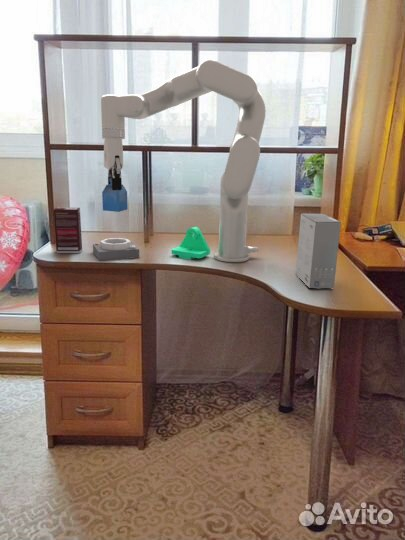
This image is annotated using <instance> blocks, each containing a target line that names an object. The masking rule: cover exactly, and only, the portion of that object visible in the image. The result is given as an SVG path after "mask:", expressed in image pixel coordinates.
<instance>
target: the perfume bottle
mask: <svg viewBox="0 0 405 540" xmlns="http://www.w3.org/2000/svg"><path fill="white" fill-rule="evenodd" d="M112 178H113V176H112V175H110V178H109V181H110V184H109V185H108V184H106V185H105V187H104V189H103V190H102V192H101V194H102V196H101V197H102V198H101V199H102V211H105V212H106V211H107V212H114V213H116V212H117V213H119V212H124V211H127V210H128V191H127V189H126V187H125V185H124V184H123V183H122V190H118V189H117V190H112Z"/></svg>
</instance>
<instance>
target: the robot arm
mask: <svg viewBox="0 0 405 540" xmlns="http://www.w3.org/2000/svg"><path fill="white" fill-rule="evenodd" d="M210 92H214V93H216V94H218V95H220V96H222V97H225V98H227V99H229V100H232V101H233V102H234V103H235V104H236V105H237V106H238V109H239V115H238V119H237V125H236V128H235V132H234V135H233V139H232V141H231V143H230V146H229V154H228V158H227V161H226V165H225V167H224V168H225V169H224V172H223V174H221V178H220V186H219V188H220V194H219V195H220V197H219V199H220V200H219V201H220V202H219V204H220V205H219V222H218V223H219V224H218V225H219V226H218V250H217V252H214V254H213V258H214V259H215V260H217V261H221V262H226V263H242V262H243V263H244V262H247V261H249V260H250V255H249V254H251V253H258V251H259V248H258V246H251V245H250V246H248V245H247V244H246V243H247V241H246V240H247V225H248V222H247V221H248V209H249V192H250V190H251V188H252V184H253V180H254V177H255V175H256V171H257V167H258V163H259V160H260V156H261V146H260V144H259V143H260V140H261V136H262V132H263V128H264V123H265V119H266V111H267V110H266V104H265V100H264V98H263V95H262V94H261V92H260V90H259V88H258V84H257V81H256V80H255V79H254V77H253V76H251V75H249V74H247V73H245V72H242V71H240V70H238V69H236V68H233V67H230V66H228V65H226V64H224V63H222V62H220V61H217V60H216V59H215V60H214V59H206V60H204V61H202V62H201V63H200V64H199V65H198V66H196V67H194V68H191V69H189V70H186V71H185V72H182V73H179V74H177V75H175V76H171V77H170V78H168V79H167V80H166V81H164V83H163V84H161V85H160V86H158V87H157V88H155V89H152V90H149V91H148V92H144V93H141V94H135V93H133V94H125V95H124V94H123V95H119V94H104V95H102V96H101V98H100V113H101V136H102V137H101V139H102V140H103V141H104V143H103V167H104V168H105V169H107V185H109V184H110V181H109V178H110V175H112V176H113V178H112V190H117V189H118V190H122V184H123V183H122V170H123V168H124V150H123V149H124V147H123V146H124V145H123V140H125V139H126V129H125V128H126V127H125V126H126V125H125V124H126V123H125V121H126V120H125V119H126V118H128V119H131V120H132V119H133V120H143V119H144V120H145V119H146V118H148V117H149V118H150V117H151V116H153V115H156V114H158V113H161V112H163V111H166V110H168V109H171V108H174V107H177V106H179V105H182V104H184V103H186V102H188V101H191V100H194V99H196V98H198V97H201V96H203V95H206V94H209V93H210Z"/></svg>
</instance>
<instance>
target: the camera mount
mask: <svg viewBox="0 0 405 540" xmlns="http://www.w3.org/2000/svg"><path fill="white" fill-rule="evenodd" d="M204 236H205V235H204V234H203V232H202V231H201V229H200V228H199V226H193V227H190V228H188V229H187V230H186V231H185V236H184V238H183V239H182V241H181V243H180V244H179V246H176V247H174V248H171V254H172V255H174V256H175V255H176V256H178V258H179V259H185V260H193V259H202V258H204V257H206V256H208V255H211V247H209V245H208V242H207V241H206V239H205V237H204Z"/></svg>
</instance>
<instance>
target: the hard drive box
mask: <svg viewBox="0 0 405 540" xmlns="http://www.w3.org/2000/svg"><path fill="white" fill-rule="evenodd" d="M341 225H342V222H341V221H339V220H338V219H335V218H333V217H331V216H329V215H327V214H324V213H300V220H299V231H298V233H299V234H298V244H297V256H296V266H295V269H296V270H295V275H296V277H297V276H298V277H299V278H300V279H301V280H302V281H303V282H304V283H305V284H306V285H307V286H308V287H309V288H334V289H335V280H336V272H337V262H338V261H337V260H338V251H339V242H340V234H341V233H340V232H341V227H342V226H341ZM298 277H297V278H298ZM299 278H298V279H299ZM300 279H299V280H300ZM301 280H300V281H301ZM302 281H301V282H302ZM303 282H302V283H303ZM304 283H303V284H304ZM305 284H304V285H305Z"/></svg>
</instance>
